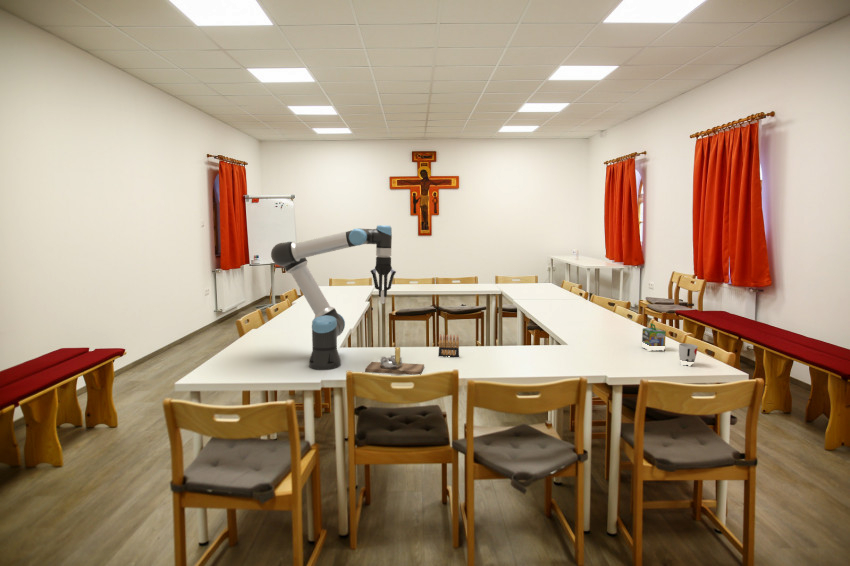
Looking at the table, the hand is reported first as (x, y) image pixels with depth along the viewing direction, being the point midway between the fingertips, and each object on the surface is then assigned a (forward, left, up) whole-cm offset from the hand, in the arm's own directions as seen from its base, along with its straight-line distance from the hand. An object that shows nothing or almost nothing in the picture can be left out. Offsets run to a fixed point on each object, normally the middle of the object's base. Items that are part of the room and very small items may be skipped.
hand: (382, 303), depth 239 cm
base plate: (+10, -16, -29) cm, 35 cm away
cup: (+152, +17, -29) cm, 156 cm away
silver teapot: (+9, -18, -27) cm, 34 cm away
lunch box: (+145, +46, -29) cm, 155 cm away
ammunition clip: (+33, +11, -29) cm, 45 cm away
